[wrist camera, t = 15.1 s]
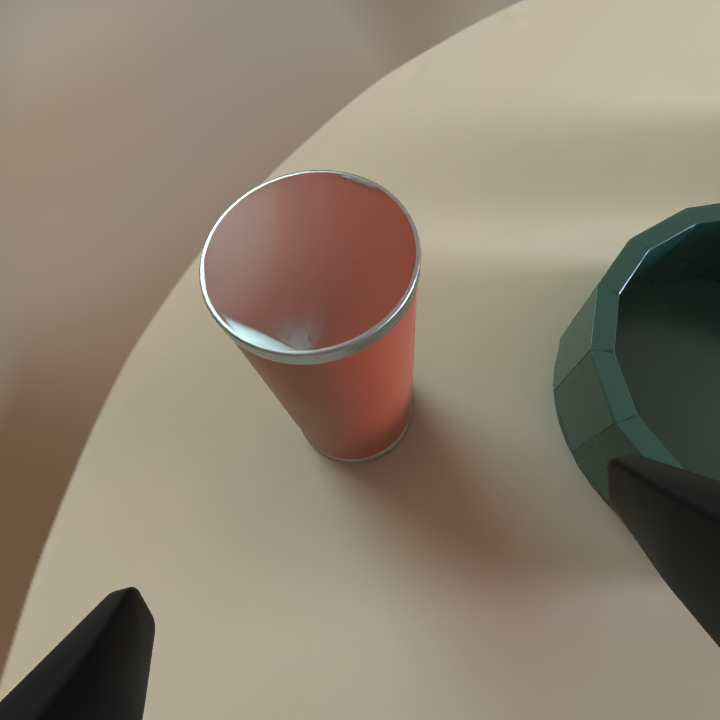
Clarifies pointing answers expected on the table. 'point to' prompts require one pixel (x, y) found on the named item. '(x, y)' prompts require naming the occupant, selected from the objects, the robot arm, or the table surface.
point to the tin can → (322, 304)
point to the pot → (648, 354)
